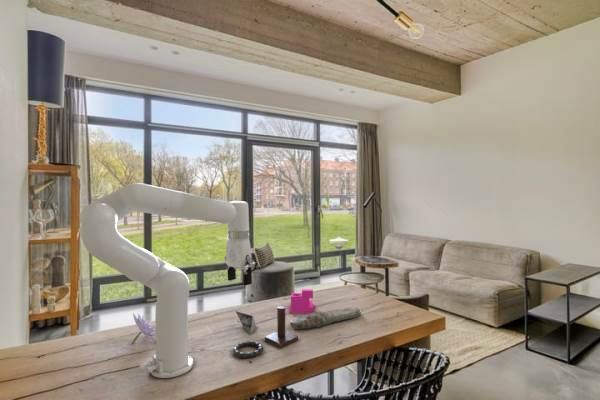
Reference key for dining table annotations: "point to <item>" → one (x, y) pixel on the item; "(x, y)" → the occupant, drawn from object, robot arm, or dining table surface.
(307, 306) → the bracket
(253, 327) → the paper boat
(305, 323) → the long grey stone
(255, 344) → the hoop
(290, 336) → the peg stand
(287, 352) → the dining table surface
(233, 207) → the robot arm
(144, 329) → the water lily
